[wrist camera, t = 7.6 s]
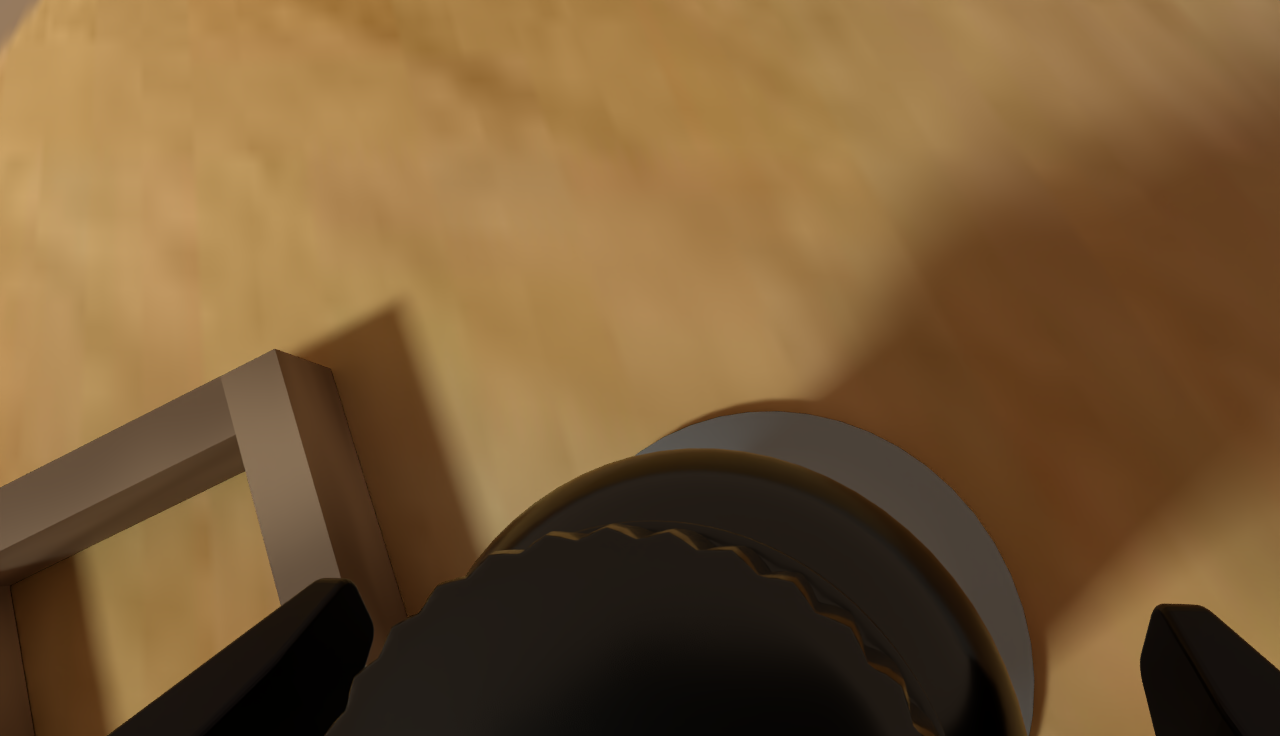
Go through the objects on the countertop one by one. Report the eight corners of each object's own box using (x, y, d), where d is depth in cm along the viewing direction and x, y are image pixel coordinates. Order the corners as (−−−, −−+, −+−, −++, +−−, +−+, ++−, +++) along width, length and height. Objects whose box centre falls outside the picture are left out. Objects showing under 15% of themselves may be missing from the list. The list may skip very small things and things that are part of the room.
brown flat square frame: (482, 861, 18) (434, 902, 16) (30, 1043, 19) (-70, 1105, 17) (330, 368, 21) (275, 348, 19) (-44, 555, 22) (-134, 555, 20)
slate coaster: (1129, 587, 16) (1136, 588, 16) (855, 1040, 15) (856, 1052, 15) (702, 332, 19) (699, 329, 19) (461, 704, 18) (453, 707, 18)
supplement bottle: (971, 837, 15) (1373, 1674, 4) (618, 854, 17) (147, 1516, 5) (902, 473, 17) (1040, 310, 6) (585, 515, 18) (173, 453, 7)
